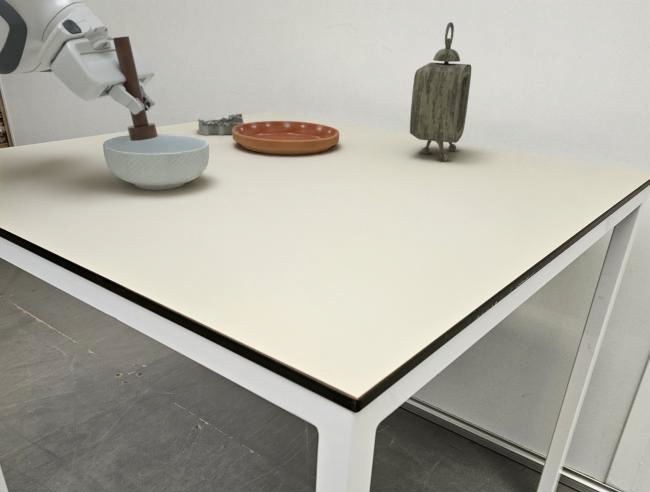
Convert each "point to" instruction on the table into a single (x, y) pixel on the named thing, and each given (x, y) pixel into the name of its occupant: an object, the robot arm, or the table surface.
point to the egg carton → (220, 125)
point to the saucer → (285, 137)
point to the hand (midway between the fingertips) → (145, 109)
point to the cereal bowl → (157, 160)
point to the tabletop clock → (440, 99)
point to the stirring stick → (133, 90)
